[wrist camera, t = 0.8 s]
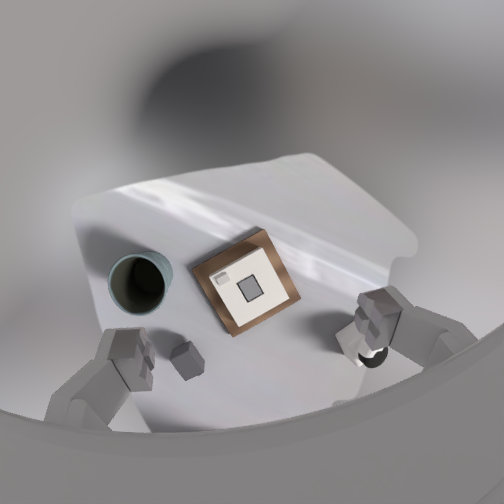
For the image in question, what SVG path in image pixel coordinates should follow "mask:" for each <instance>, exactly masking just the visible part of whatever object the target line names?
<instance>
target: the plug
mask: <svg viewBox="0 0 504 504" xmlns="http://www.w3.org/2000/svg"><path fill="white" fill-rule="evenodd" d="M170 361H171V363H172V364H173V366H174V367H175V368H176V370H177V371H178V372H179V374H180V375H181V376H182V377H183V379H184V380H185V381H187V380H189V379H191V378H193V377H195V376H197V375H198V376H199V375H201V374H202V373H204V363H205V361H204V359H203V358H202V356H201V355H200V354H199V352H198V351H197V349H196V348H195V346H194V345H193V343H192V342H191V341H189V342H187V343H185V344H183V345H181V346H179V347H177V348H175V349H173V351H172V354H171V357H170Z"/></svg>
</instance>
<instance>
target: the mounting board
mask: <svg viewBox="0 0 504 504" xmlns="http://www.w3.org/2000/svg"><path fill="white" fill-rule="evenodd" d="M258 247H262V248H263V250H264V252H265V254H266V255H267V257H268V259H269V261H270V263H271V265H272V267H273V269H274V270H275V272H276V274H277V276H278V278H279V280H280V282H281V284H282V285H283V287H284V289H285V291H286V293H287V295H288V297H289V299H288V300H286V301H284V302H282V303H281V304H279V305H277V306H276V307H274V308H272V309H270V310H269V311H267V312H265V313H263V314H262V315H260V316H258V317H256V318H254V319H253V320H251V321H249V322H247V323H245V324H244V325H242V326H240V327H239V326H238V325H237V323H236V322H235V320H234V318H233V317H232V315H231V313H230V312H229V310H228V308H227V307H226V305H225V303H224V302H223V300H222V298H221V297H220V295H219V293H218V292H217V290H216V288H215V286H214V285H213V283H212V281H211V280H210V278H209V275H210V274H212V273H214V272H216V271H217V270H219V269H221V268H223V267H224V266H226V265H228V264H230V263H232V262H233V261H235V260H237V259H239V258H241V257H242V256H244V255H246V254H248V253H249V252H251V251H253V250H255V249H257V248H258ZM192 271H193V273H194V275H195V276H196V278H197V280H198V281H199V283H200V285H201V287H202V288H203V290H204V292H205V293H206V295H207V297H208V298H209V300H210V302H211V303H212V305H213V307H214V308H215V310H216V312H217V313H218V315H219V316H220V318H221V320H222V321H223V323H224V324H225V326H226V328H227V329H228V331H229V332H230V334H231V336H232V337H235V336H237V335H239V334H241V333H242V332H244V331H246V330H248V329H250V328H251V327H253V326H255V325H257V324H259V323H260V322H262V321H264V320H266V319H268V318H269V317H271V316H273V315H274V314H276V313H278V312H280V311H281V310H283V309H285V308H287V307H288V306H290V305H292V304H293V303H295V302H297V301H298V300H300V299H301V297H300V295H299V293H298V291H297V290H296V288H295V286H294V284H293V282H292V280H291V278H290V276H289V274H288V272H287V270H286V268H285V266H284V264H283V263H282V261H281V259H280V257H279V255H278V253H277V251H276V249H275V247H274V245H273V244H272V242H271V240H270V238H269V236H268V234H267V232H266V230H265V229H263V230H261V231H259V232H257V233H256V234H254V235H252V236H250V237H248V238H246V239H245V240H243V241H241V242H239V243H237V244H236V245H234V246H232V247H230V248H228V249H227V250H225V251H223V252H221V253H220V254H218V255H216V256H214V257H212V258H211V259H209V260H207V261H205V262H203V263H202V264H200V265H198V266H196V267H195V268H193V269H192Z"/></svg>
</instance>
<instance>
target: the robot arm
mask: <svg viewBox="0 0 504 504" xmlns="http://www.w3.org/2000/svg"><path fill="white" fill-rule="evenodd" d="M357 303H358V304H359V307H358V308H357V309H356V311H355V316H354V320H355V325H356V328H357V330H358V331H359V333H361V334H363V335H365V342H366V343H367V345H368V346H369V348H370V349H371V351H375V350H378V349H382V348H385V347H388V346H390V348H392V349H394V350H395V351H397V352H399V353H400V354H402V355H404V356H405V357H407V358H409V359H410V360H412V361H414V362H415V363H417V364H419V365H420V366H422V367H424V368H423V370H422V372H421V373H419V374H416V375H414V376H412V377H410V378H408V379H406V380H403V381H401V382H399V383H396V384H394V385H391V386H389V387H387V388H384V389H382V390H379V391H377V392H374V393H371V394H369V395H366V396H364V397H360V398H357V399H355V400H352V401H349V402H346V403H343V404H339V405H336V406H333V407H329V408H326V409H323V410H319V411H315V412H312V413H308V414H304V415H300V416H296V417H291V418H287V419H282V420H277V421H272V422H267V423H262V424H256V425H250V426H243V427H236V428H228V429H219V430H209V431H197V432H179V433H132V432H114V431H112V430H111V429H110V428H109V427H108V426H107V425H108V424H109V423H110V421H111V420H112V418H113V417H114V416H115V414H116V413H117V411H118V410H119V409H120V407H121V406H122V405H123V403H124V402H125V400H126V399H127V398H128V396H129V395H130V394H131V392H138V391H152V384H153V375H152V373H151V371H152V369H153V368H154V365H155V358H154V351H153V348H152V345H151V343H149V342H148V341H146V339H147V333H146V331H145V329H144V328H143V327H133V328H118V329H117V328H116V329H106V330H105V331H104V333H103V336H102V338H101V341H100V344H99V347H98V350H97V353H96V356H95V359H94V360H90V361H89V362H88V363H87V364H86V365H85V366H84V367H82V368H81V369H80V370H79V371H78V372H77V373H76V374H75V375H73V376H72V377H71V378H70V379H69V380H68V381H67V382H66V383H65V384H64V385H62V386H61V387H60V388H59V389H58V390H57V391H56V392H55V393H54V394H53V395H52V396H51V399H50V402H49V405H48V409H47V412H46V415H45V419H44V421H40V420H36V419H32V418H27V417H24V416H20V415H17V414H13V413H9V412H6V411H4V410H1V409H0V504H504V323H503V324H501V325H500V326H498V327H497V328H496V329H494V330H493V331H491V332H490V333H488V334H487V335H486V336H484V337H482V338H481V339H479V340H478V339H477V338H476V337H475V336H474V335H473V334H472V333H471V332H470V331H469V330H468V329H467V328H466V326H464V324H463V323H460V322H458V321H455V320H453V319H450V318H447V317H444V316H442V315H439V314H437V313H434V312H432V311H429V310H426V309H423V308H421V307H418V306H415V307H414V306H413V305H412V304H411V303H410V302H409V301H408V300H407V299H406V298H405V297H404V296H403V295H402V294H401V293H400V292H399V291H398V290H397V289H396V288H395V287H394V286H391V285H390V286H386V287H383V288H380V289H376V290H372V291H368V292H363V293H360V294H359V296H358V299H357Z"/></svg>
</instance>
